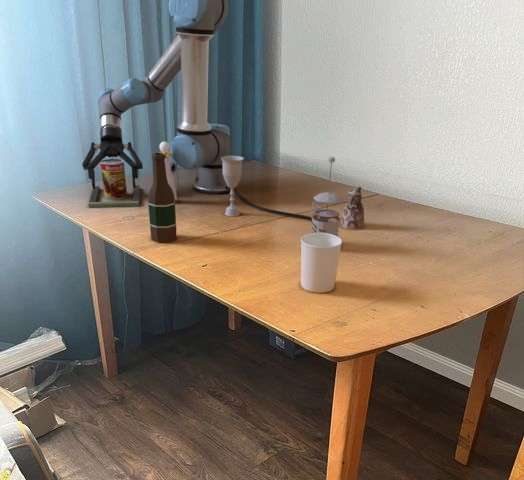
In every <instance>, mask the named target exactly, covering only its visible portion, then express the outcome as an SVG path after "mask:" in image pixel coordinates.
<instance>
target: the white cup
mask: <svg viewBox="0 0 524 480" xmlns="http://www.w3.org/2000/svg"><path fill="white" fill-rule="evenodd" d="M342 244H343V240H342V239H341V237H339V236H338V237H337V236H335V235H332V234H327V233H318V232H317V233H312V232H311V233H310V232H309V233H306V234H304V235H302V236H301V238H300V286H301V288H302V289H304V290H305V291H308V292H309V293H310V292H311V293H318V294H321V293H324V294H325V293H329V292H331V291H333V289H334V288H335V284H336V281H337V280H336V279H337V274H338V268H339V262H340V256H341V251H342V246H343V245H342Z"/></svg>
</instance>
